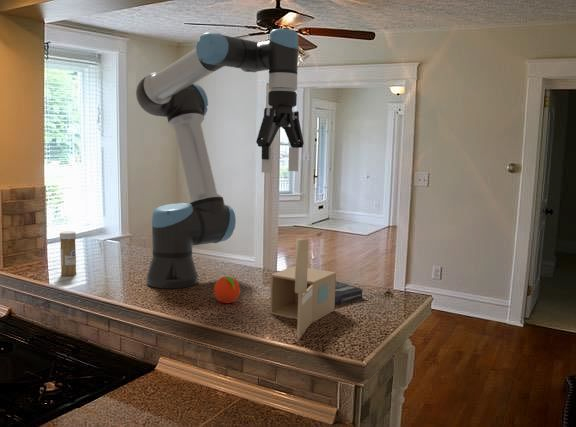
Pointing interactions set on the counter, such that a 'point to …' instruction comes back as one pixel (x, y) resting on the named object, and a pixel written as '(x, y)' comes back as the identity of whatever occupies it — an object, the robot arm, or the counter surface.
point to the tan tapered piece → (303, 287)
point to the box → (346, 293)
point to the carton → (287, 299)
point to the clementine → (227, 289)
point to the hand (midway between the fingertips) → (280, 172)
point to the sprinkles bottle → (68, 253)
